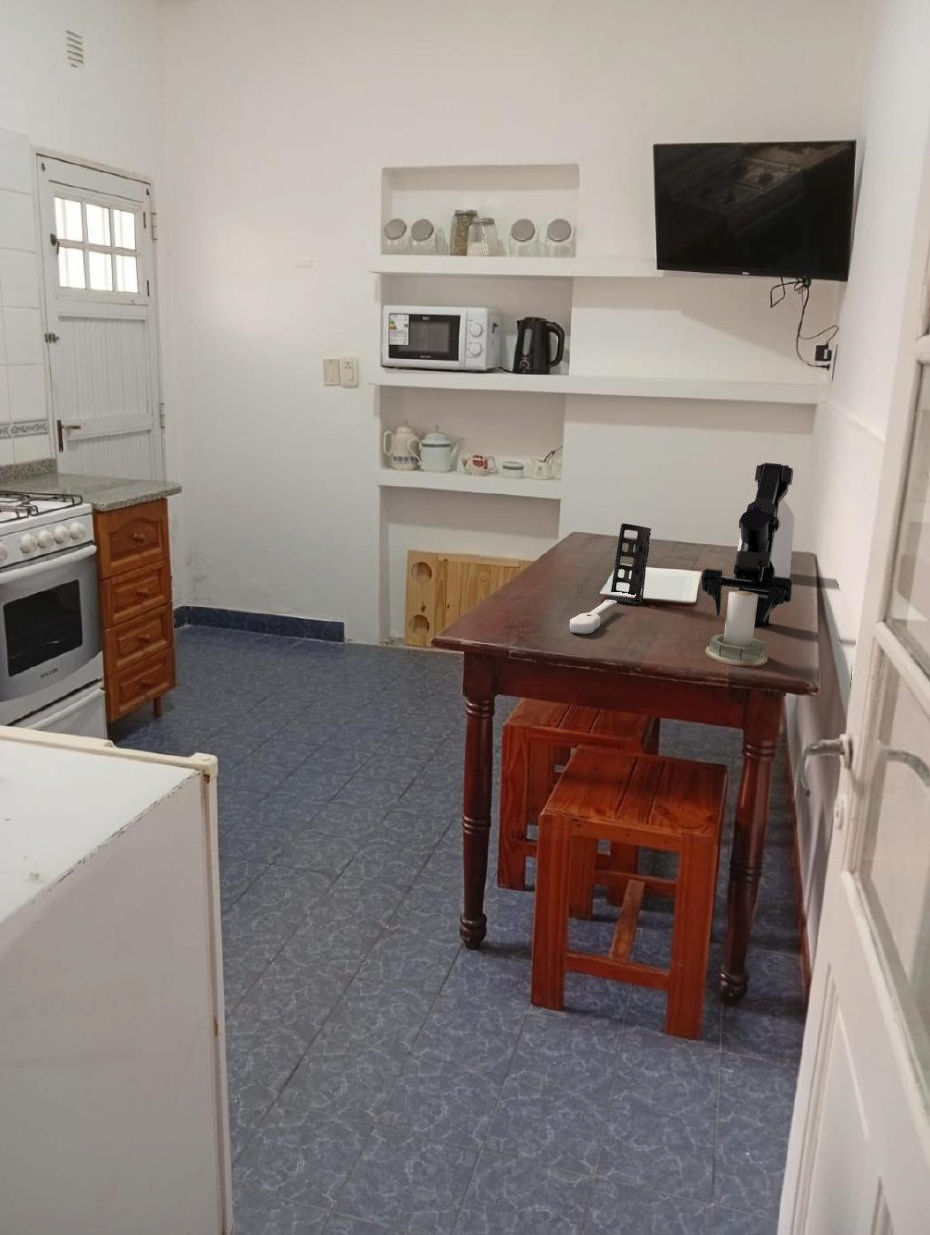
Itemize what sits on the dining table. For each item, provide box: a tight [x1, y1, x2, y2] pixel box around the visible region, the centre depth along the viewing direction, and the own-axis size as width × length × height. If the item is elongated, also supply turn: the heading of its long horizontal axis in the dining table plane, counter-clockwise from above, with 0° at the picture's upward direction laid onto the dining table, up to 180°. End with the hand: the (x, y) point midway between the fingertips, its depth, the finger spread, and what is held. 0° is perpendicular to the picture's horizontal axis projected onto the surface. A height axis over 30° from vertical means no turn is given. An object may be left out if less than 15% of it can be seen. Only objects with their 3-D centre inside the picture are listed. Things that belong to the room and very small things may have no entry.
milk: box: [737, 497, 795, 578], centre depth 299 cm, size 12×12×26 cm
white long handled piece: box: [569, 599, 618, 635], centre depth 237 cm, size 28×6×3 cm, turn 155°
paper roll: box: [723, 589, 758, 647], centre depth 212 cm, size 6×6×13 cm
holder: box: [609, 523, 652, 607], centre depth 258 cm, size 11×8×20 cm
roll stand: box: [704, 634, 769, 667], centre depth 213 cm, size 13×13×4 cm
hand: (739, 617), depth 210 cm, fingers open, 9 cm apart
